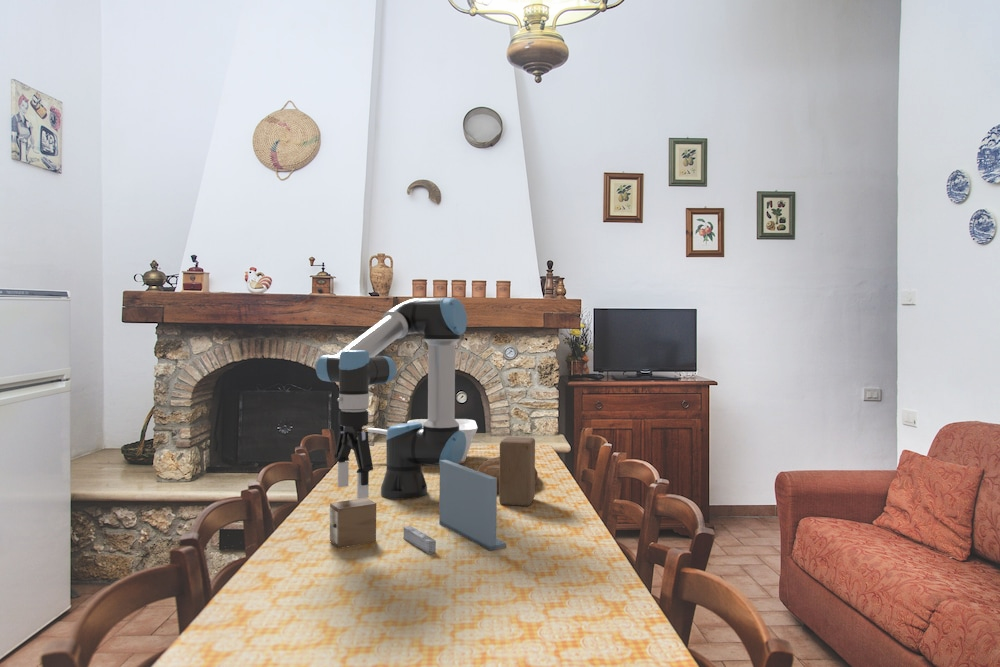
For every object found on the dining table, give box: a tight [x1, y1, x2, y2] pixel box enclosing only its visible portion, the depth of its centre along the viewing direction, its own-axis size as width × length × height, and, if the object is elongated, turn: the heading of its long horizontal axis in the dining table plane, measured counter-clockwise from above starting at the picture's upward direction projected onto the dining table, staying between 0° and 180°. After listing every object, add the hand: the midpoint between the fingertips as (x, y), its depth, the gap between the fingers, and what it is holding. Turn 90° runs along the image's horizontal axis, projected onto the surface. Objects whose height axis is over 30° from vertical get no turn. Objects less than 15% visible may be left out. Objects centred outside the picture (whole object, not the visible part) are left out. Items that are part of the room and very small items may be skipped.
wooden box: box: [329, 497, 377, 549], centre depth 173 cm, size 6×11×10 cm, turn 124°
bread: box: [476, 456, 539, 495], centre depth 238 cm, size 22×37×8 cm, turn 0°
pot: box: [366, 418, 479, 465], centre depth 272 cm, size 29×44×15 cm, turn 95°
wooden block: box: [498, 436, 536, 507], centre depth 212 cm, size 10×10×20 cm
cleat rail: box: [403, 525, 437, 555], centre depth 170 cm, size 14×2×3 cm, turn 34°
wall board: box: [438, 460, 507, 551], centre depth 179 cm, size 26×5×18 cm, turn 34°
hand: (352, 492), depth 172 cm, fingers open, 13 cm apart
